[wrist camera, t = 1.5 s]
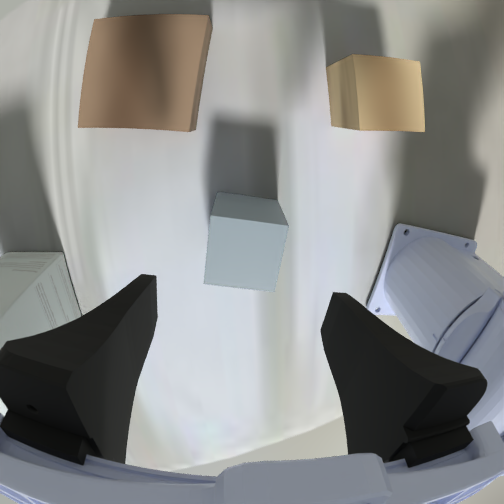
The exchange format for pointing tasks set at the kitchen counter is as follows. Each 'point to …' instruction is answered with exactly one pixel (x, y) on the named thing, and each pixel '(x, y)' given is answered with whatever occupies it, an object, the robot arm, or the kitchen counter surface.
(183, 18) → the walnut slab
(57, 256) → the supplement box
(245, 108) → the kitchen counter surface
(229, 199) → the slate block
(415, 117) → the oak block
